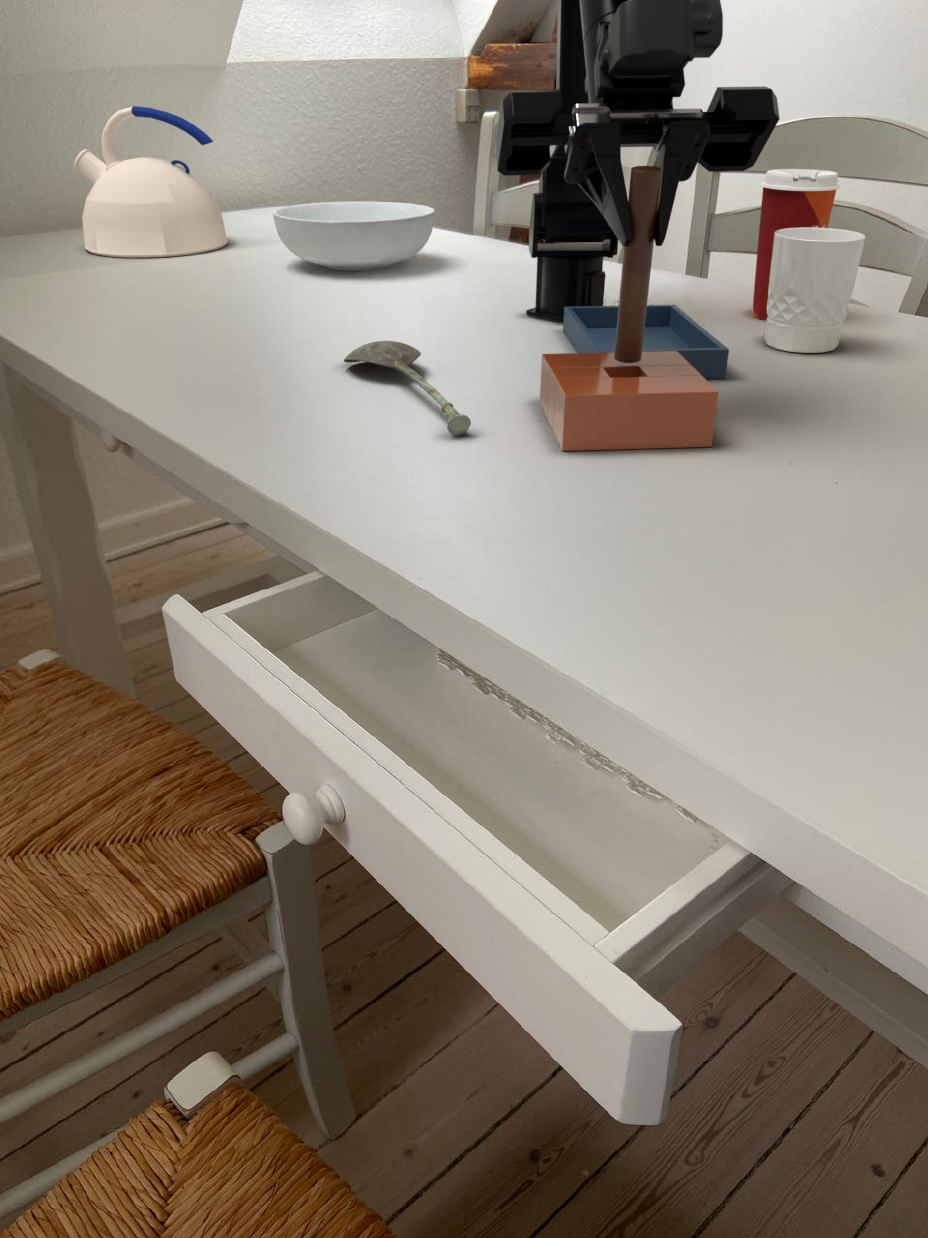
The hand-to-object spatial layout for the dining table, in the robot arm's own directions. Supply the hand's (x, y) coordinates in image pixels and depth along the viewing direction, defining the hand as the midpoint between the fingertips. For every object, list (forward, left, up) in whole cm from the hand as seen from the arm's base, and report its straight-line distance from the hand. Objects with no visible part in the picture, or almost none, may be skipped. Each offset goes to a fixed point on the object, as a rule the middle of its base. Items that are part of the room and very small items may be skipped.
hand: (643, 242), depth 66 cm
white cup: (-1, +31, -13) cm, 34 cm away
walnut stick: (-1, +1, -8) cm, 9 cm away
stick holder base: (-1, 0, -13) cm, 13 cm away
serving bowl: (-63, +31, -13) cm, 71 cm away
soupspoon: (-18, -5, -13) cm, 23 cm away
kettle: (-96, +22, -13) cm, 99 cm away
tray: (-11, +18, -13) cm, 25 cm away
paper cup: (-8, +41, -13) cm, 44 cm away
